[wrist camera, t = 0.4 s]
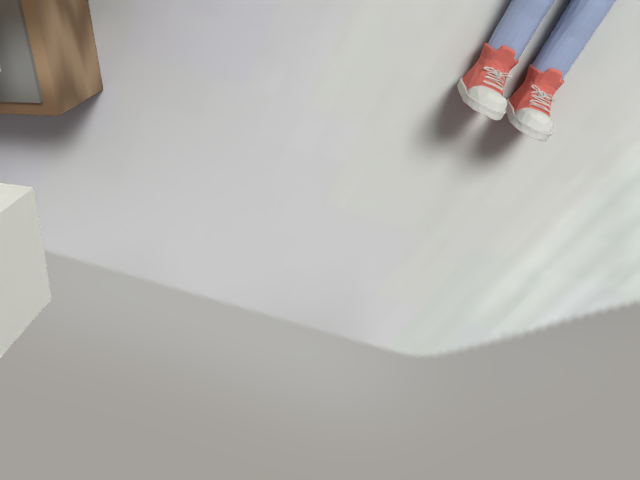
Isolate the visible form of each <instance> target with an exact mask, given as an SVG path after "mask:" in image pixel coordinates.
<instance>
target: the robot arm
mask: <svg viewBox="0 0 640 480" xmlns="http://www.w3.org/2000/svg"><path fill="white" fill-rule="evenodd" d="M50 300H51V293H50V286H49V280H48V274H47V268H46V261H45V255H44V249H43V243H42V236H41V230H40V224H39V218H38V211H37V205H36V199H35V193H34V187H27V186H20V185H12V184H5V183H0V357H1V356H2V355H3V354H4V353H5V352H6V351H7V349H8V348H9V347H10V346H11V345H12V343H14V341H15V340H16V339H17V338H18V337H19V336H20V335H21V333H22V332H23V331H24V330H25V329H26V328H27V327H28V326H29V324H30V323H31V322H32V321H33V320H34V319H35V318H36V316H37V315H38V314H39V313H40V312H41V311H42V310H43V308H44V307H45V306H46V305H47V304H48V303H49V302H50Z"/></svg>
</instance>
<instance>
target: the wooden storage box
mask: <svg viewBox="0 0 640 480" xmlns="http://www.w3.org/2000/svg"><path fill="white" fill-rule="evenodd" d="M0 69H1V71H0V114H21V115H47V116H50V115H52V116H60V115H61V114H63V113H65V112H66V111H68V110H70V109H72V108H73V107H75V106H77V105H78V104H80V103H82V102H83V101H85V100H87V99H88V98H90V97H92V96H93V95H95V94H97V93H98V92H100V91H102V90H103V86H102V80H101V74H100V68H99V63H98V57H97V51H96V45H95V39H94V33H93V28H92V22H91V16H90V10H89V4H88V0H0Z"/></svg>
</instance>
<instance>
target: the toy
mask: <svg viewBox="0 0 640 480" xmlns="http://www.w3.org/2000/svg"><path fill="white" fill-rule="evenodd" d="M554 1H555V0H512V1H511V3H510V4H509V6H508V8H507V10H506V11H505V13H504V15H503V17H502V18H501V20H500V22H499V23H498V25H497V27H496V29H495V30H494V32H493V34H492V36H491V38H490V40H489V42H488V43H486V42H485V43H484V45H483V48H482V52H481V55H480V58H479V59H478V60H477V62H476V63H475V64H474V66H473V67H472V68H471V69H470V70H469V71H468V72H467V73H466V75H465V76H464V77H462V78H460V80H459V83H458V85H457V87H458V91H459V93H460V95H461V97H462V99H463V102H464V103H466V104H467V105H468V106H469V107H470V108H472V109H473V110H475V111H477V112H479V113H481V114H483V115H485V116H487V117H489V118H491V119H493V120H501V119H502V117H503V116H504V114H505V113H507V116H508V120H509V122H510V123H511V124H512V125H513V126H514V127H515V128H517V129H518V130H519V131H521V132H523V133H524V134H526V135H528V136H530V137H532V138H535V139H538V140H541V141H546V140H547V139H548V138H549V136H551V135H552V129H553V123H552V120H551V118H550V106H551V101H555V98H554V97H553V95H554V93H555V91H556V90H557V89H558V88H559V87H560V86H561V85H562V84H563V83H564V80H563V78H564V76H565V75H566V73H567V72H568V70H569V69H570V67H571V66H572V64H573V63H574V61H575V60H576V58H577V57H578V56H579V54H580V53H581V51H582V50H583V48H584V47H585V45H586V44H587V42H588V41H589V39H590V38H591V36H592V35H593V33H594V32H595V30H596V29H597V27H598V26H599V24H600V23H601V22H602V20H603V19H604V17H605V16H606V14H607V13H608V11H609V10H610V8H611V7H612V5H613V4H614V2H615V1H616V0H571V1H570V3H569V5H568V6H567V8H566V10H565V11H564V13H563V15H562V16H561V18H560V20H559V21H558V23H557V25H556V26H555V28H554V29H553V31H552V33H551V34H550V36H549V37H548V39H547V41H546V42H545V44H544V45H543V47H542V49H541V50H540V52H539V54H538V55H537V57H536V59H535V61H534V62H533V64H530V65H529V68H528V72H527V76H526V78H525V81H524V83H523V84H522V85H521V86H520V87H519V88H518V89H517V90H516V91H515V93H514V94H513V95H512V96H511V98H508V99H507V100H506V99H505V98H504V97H503V96H502V94H503V89H504V85H505V81H506V77H512V75H511V74H510V73H509V71H510V70H511V69H512V68H513V67H514V66H515V65H516V64H517V63H518V58H519V57H520V55H521V54H522V52H523V50H524V49H525V47H526V45H527V44H528V42H529V40H530V39H531V37H532V35H533V34H534V32H535V31H536V29H537V27H538V26H539V24H540V22H541V21H542V19H543V18H544V16H545V14H546V13H547V11H548V10H549V8H550V7H551V5H552V4H553V2H554ZM508 74H509V75H511V76H507V75H508ZM552 98H553V99H554V100H553V99H552Z"/></svg>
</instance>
